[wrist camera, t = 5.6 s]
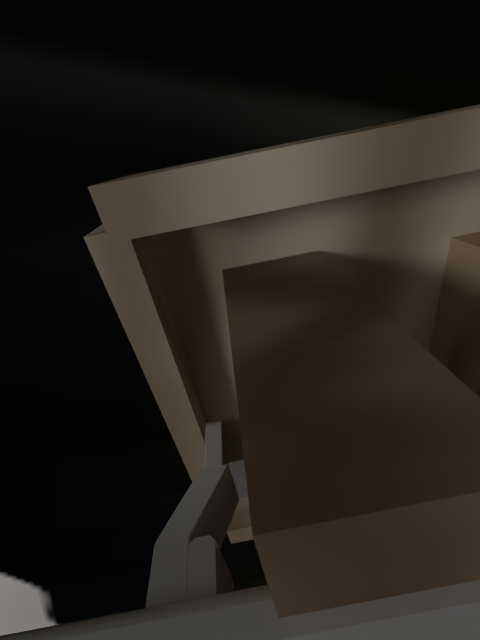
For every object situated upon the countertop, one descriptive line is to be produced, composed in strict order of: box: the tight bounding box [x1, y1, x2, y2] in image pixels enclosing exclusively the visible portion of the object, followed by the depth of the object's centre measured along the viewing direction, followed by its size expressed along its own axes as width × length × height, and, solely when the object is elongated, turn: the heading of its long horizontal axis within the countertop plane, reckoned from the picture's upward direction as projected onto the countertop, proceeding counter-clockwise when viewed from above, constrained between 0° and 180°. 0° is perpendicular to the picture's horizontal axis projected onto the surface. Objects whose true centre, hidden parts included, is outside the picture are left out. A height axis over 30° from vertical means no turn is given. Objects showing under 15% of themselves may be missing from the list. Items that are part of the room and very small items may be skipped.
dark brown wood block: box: [222, 251, 480, 618], centre depth 9 cm, size 4×9×8 cm, turn 10°
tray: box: [84, 104, 480, 543], centre depth 12 cm, size 15×16×4 cm
